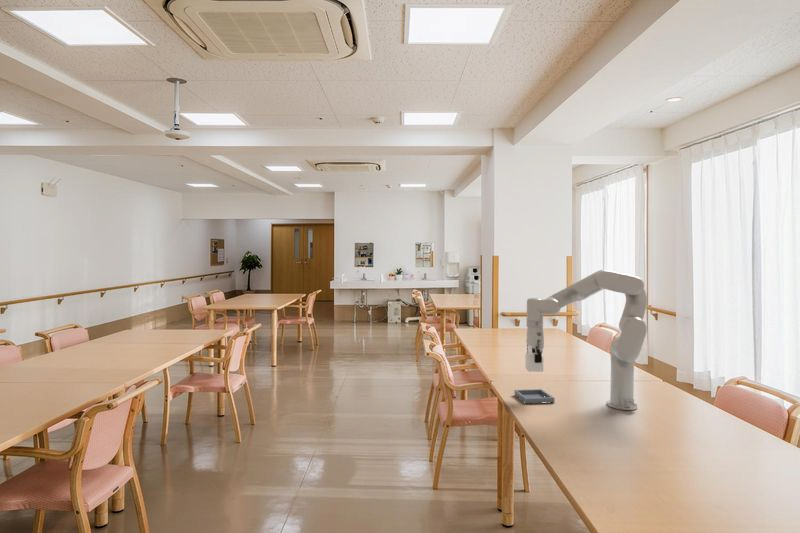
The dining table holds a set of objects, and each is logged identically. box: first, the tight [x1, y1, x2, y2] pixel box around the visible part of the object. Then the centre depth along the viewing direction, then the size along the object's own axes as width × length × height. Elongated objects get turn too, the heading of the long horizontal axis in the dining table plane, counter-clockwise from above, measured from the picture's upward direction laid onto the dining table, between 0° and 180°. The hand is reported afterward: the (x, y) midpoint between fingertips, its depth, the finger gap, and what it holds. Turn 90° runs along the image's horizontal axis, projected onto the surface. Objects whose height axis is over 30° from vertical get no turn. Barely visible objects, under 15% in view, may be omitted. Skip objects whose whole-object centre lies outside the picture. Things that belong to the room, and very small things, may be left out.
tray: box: [513, 388, 555, 404], centre depth 216 cm, size 14×14×2 cm
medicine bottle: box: [524, 345, 544, 373], centre depth 216 cm, size 7×7×12 cm
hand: (534, 360), depth 216 cm, fingers closed on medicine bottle, 8 cm apart
